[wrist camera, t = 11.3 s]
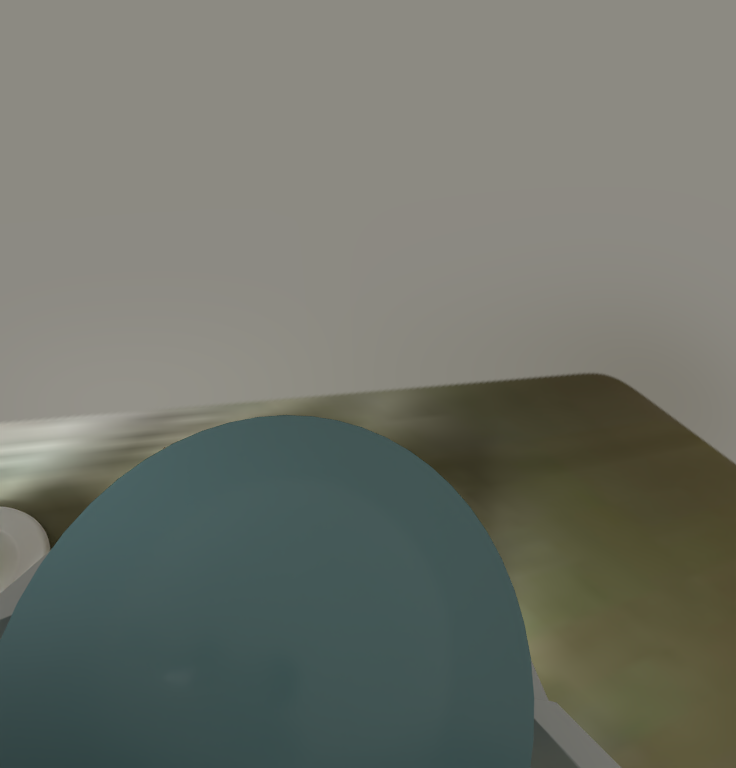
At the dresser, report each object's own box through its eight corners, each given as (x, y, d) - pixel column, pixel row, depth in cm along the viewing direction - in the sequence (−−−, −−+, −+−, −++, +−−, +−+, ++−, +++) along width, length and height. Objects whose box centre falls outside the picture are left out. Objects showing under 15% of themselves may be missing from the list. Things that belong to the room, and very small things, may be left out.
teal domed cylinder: (147, 745, 12) (-219, 1049, 3) (221, 523, 15) (136, 375, 6) (361, 781, 12) (548, 1142, 4) (389, 557, 15) (526, 462, 7)
